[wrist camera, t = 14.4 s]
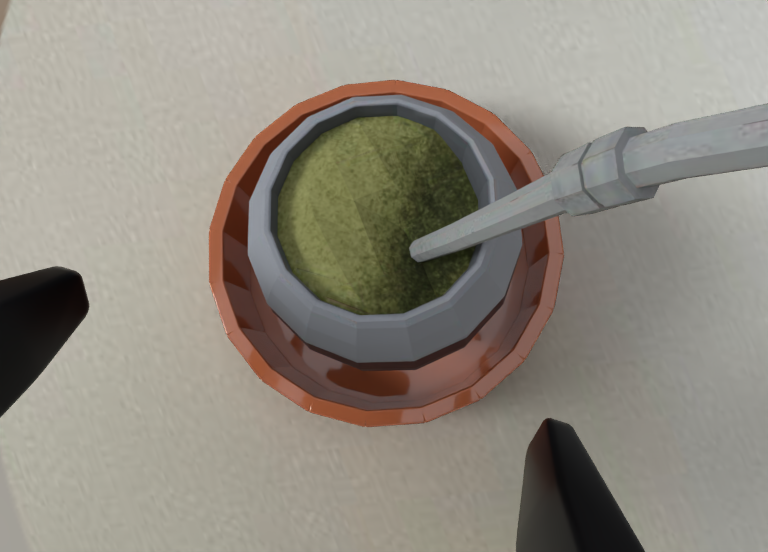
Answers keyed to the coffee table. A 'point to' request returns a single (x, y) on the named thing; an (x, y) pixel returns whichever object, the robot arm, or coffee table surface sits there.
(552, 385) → the coffee table surface
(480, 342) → the holder
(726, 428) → the coffee table surface
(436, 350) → the mate gourd
